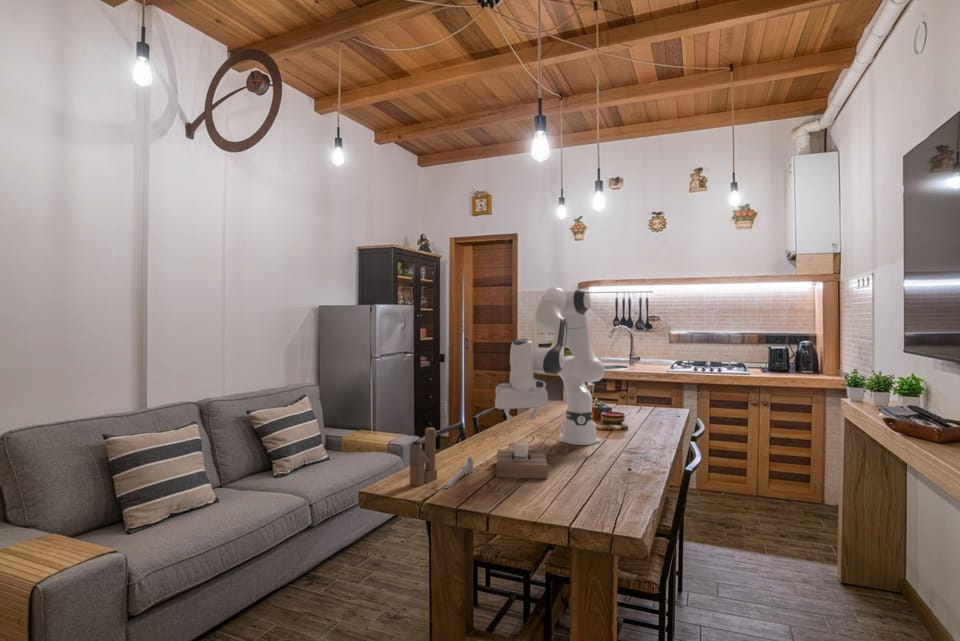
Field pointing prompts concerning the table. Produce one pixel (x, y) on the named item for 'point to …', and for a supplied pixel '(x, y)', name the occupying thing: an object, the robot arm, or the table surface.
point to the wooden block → (423, 460)
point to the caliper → (462, 472)
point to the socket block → (522, 465)
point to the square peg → (521, 450)
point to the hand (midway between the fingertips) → (521, 419)
